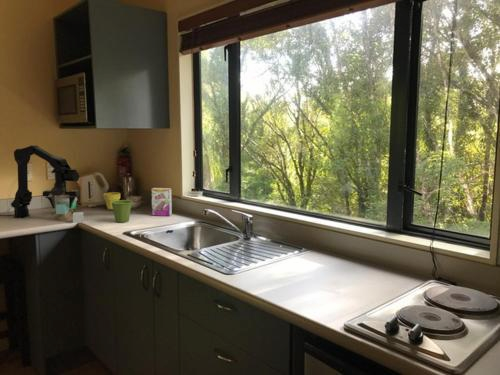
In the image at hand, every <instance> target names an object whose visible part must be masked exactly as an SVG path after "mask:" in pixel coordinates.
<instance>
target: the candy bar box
mask: <svg viewBox="0 0 500 375" xmlns="http://www.w3.org/2000/svg"><path fill="white" fill-rule="evenodd" d="M150 192H151V193H150V194H151V216H152V217H154V216H155V217H171V216H172V215H173V213H172V212H173V211H172V208H173V206H172V204H173V203H172V198H173V197H172V188H171V187H169V188H167V187H166V188H165V187H152V188H151V191H150Z"/></svg>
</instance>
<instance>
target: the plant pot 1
mask: <svg viewBox="0 0 500 375" xmlns="http://www.w3.org/2000/svg"><path fill="white" fill-rule="evenodd" d="M103 199H104V201H105V205H106V208H107V210H113V207H112V203H111V201H117V200H120V199H121V192H106V193H103Z"/></svg>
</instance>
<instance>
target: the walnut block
mask: <svg viewBox="0 0 500 375" xmlns="http://www.w3.org/2000/svg"><path fill="white" fill-rule="evenodd" d="M71 218H72V219H73V214H71V212H68V213H66V214H56V212H55V213H53V214H52V219H53V220H54V222H66V220H67V221H69V220H71ZM53 220H52V221H53Z"/></svg>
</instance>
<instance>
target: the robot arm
mask: <svg viewBox="0 0 500 375" xmlns="http://www.w3.org/2000/svg"><path fill="white" fill-rule="evenodd" d="M32 155H35V156H36V157H38V158H40V159H42V160H44V161H45V162H47V163H48V164H49V165H50V167H51V168H53V169H52V170H51V172H50V173H52V174H54V182H53V183H54V184H53V187H52V188H51V189H47V190H44V191H42V197H45V199H47V200H48V201H49V202H50V205H51V207H52V209H56V205H55V204H56V201H55V200H56V199H55V198H56V197H59V196H62V195H63V196H68V198H69V208H71V207H72V204H73V201H74V199H75V197H77V198H78V196H80V195H81V193H80V190H78V189H72V190H70V191H68V189H67V184H68V182H73V183H74V182H75V183H76V182H78V181H79V180H80V173H79V172H78V171H77V169H76V168H75V169H74V168H73V169H72V168H71V166H70V165H69V164H68V161H67V160H66V158H63V157H61V156H56V155H53V154H52V153H50V152H48V151H46V150H45V149H43V148H42V147H40V146H38V145H36V144H35V145H29V146H27V147H23V148H16V149H15V150H14V151H13V156H14V161H15V162H16V164H17V190H16V192H15V194H14V199H13V201H12V202H10V207H11V208H13V210H14V216H13V218H22V219H23V218H27V217H30V212H29V210H30V209H29V206H30V205H31V202H32V199H33V192H32V191H30V190H29V186H28V185H29V180H28V178H29V177H28V175H29V174H28V164H29V162H30V161H31V157H32Z"/></svg>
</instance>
